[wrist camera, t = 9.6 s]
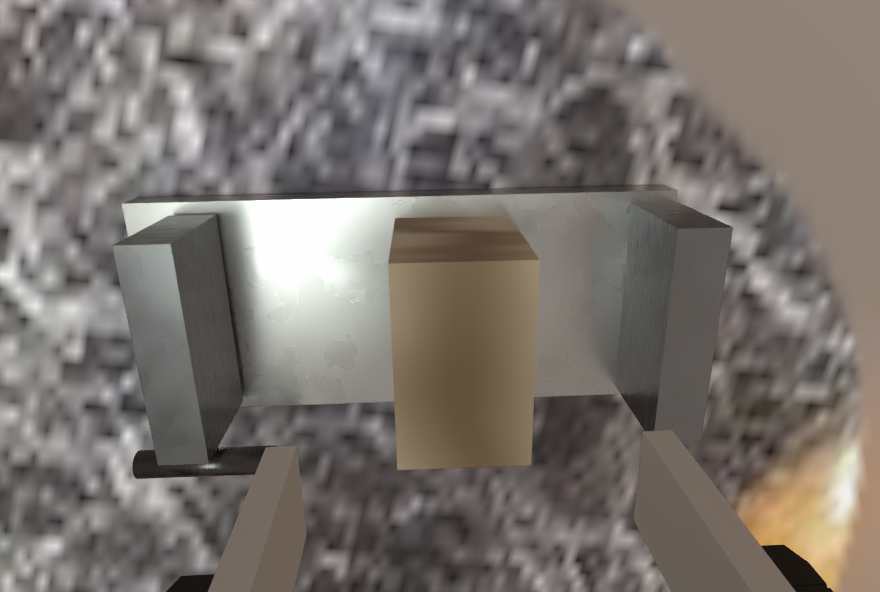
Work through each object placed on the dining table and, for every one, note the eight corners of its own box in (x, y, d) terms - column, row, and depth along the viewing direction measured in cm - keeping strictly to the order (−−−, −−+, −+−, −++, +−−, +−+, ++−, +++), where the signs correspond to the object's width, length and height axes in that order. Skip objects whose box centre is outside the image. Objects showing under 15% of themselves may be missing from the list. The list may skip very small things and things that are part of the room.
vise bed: (174, 394, 30) (162, 409, 29) (137, 197, 27) (121, 203, 26) (643, 378, 31) (654, 392, 30) (664, 184, 28) (677, 190, 26)
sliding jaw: (165, 441, 29) (117, 510, 24) (120, 216, 25) (53, 247, 21) (289, 437, 29) (265, 504, 25) (263, 213, 26) (228, 242, 21)
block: (401, 381, 29) (397, 470, 22) (395, 218, 26) (388, 263, 20) (505, 378, 29) (531, 465, 22) (509, 215, 26) (539, 259, 20)
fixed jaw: (614, 385, 29) (652, 442, 25) (631, 202, 26) (678, 228, 22) (655, 383, 29) (700, 441, 25) (676, 201, 26) (732, 227, 22)
